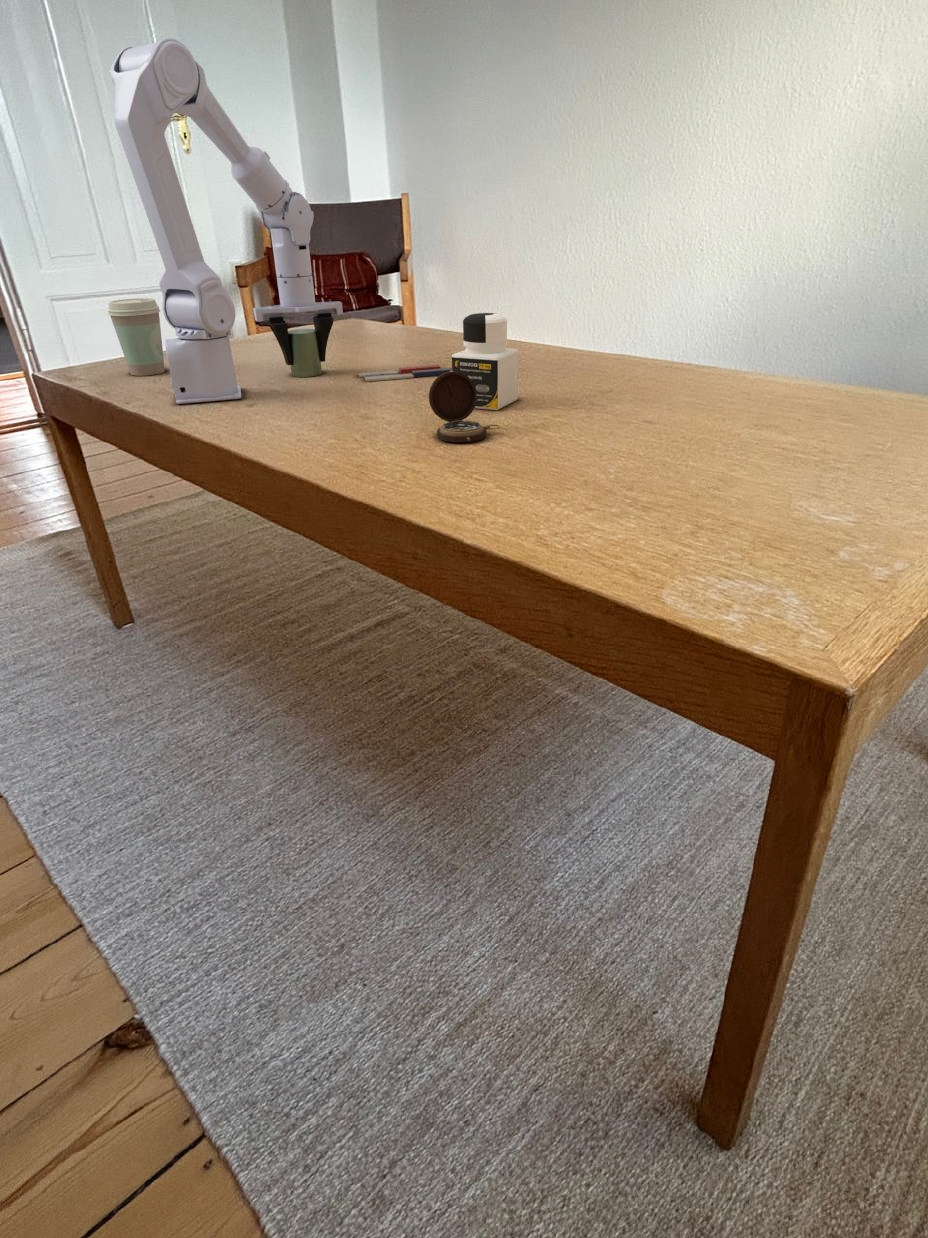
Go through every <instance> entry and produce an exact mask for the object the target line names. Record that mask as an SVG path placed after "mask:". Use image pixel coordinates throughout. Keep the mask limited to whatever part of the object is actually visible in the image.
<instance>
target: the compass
mask: <svg viewBox="0 0 928 1238" xmlns="http://www.w3.org/2000/svg"><path fill="white" fill-rule="evenodd" d="M476 393H477V390H476V387H475V385H474V383H473V382H472V380H471V379H470V378H469V377H468V376H466V375H465V374H463V373H460V372H455V371H453V370H450V371H449V372H445V373H443V374H441V375H438V376H436V378H435V379H434V380H433V381H432V383H431V385H430V387H429V391H428V403H429V405H430V408H431V410H432V412H433V413H434V414H435V416H437V417H438V418H439V419H441V420H443V421H445V423H443V424H442V425H440V427H438V428H437V429H436V436H437V438H438V439H440V440H442V441H443V442H449V443H460V444H461V443H472V442H477V441H480V440H482V439H484V438H485V437H486V436H487V430H498V429H500V428H501V426H500V425H499V424H487V425H483V424H481V423H480V422H478V421H474V420H465V419H467V418H468V417H470V415H471V414H472V413H473V412H474V410H475V409H476V408H475V406H476V402H477V396H476Z"/></svg>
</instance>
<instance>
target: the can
mask: <svg viewBox="0 0 928 1238" xmlns="http://www.w3.org/2000/svg"><path fill="white" fill-rule="evenodd" d="M288 339H289V347H290V353H291V358H292V365H290V372H291V376H292V377H294V378H295V377H296V378H309V377H316V376H320V375H322V374H323V369H322V362H321V359H320V351H319V342H318V333H317V330H315V328H299V329H291V330H288Z"/></svg>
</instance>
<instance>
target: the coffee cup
mask: <svg viewBox="0 0 928 1238" xmlns="http://www.w3.org/2000/svg"><path fill="white" fill-rule="evenodd" d="M107 312H108V313H107V316H109V317H110V319H111V322H112V325H113V328H114V331H115V334H116V337H117V339H118V342H119V345H120V348H121V351H122V355H123V357H124V359H125V362H126V365H127V368H128V370H129V373H130V375H132V376H137V377H144V376H155V375H159V374H162V373H164V372H165V371H166V370H165V369H166V368H165V359H164V349H163V339H162V329H161V328H162V327H161V320H160V313H161V310H160V307H159V305H158V304H157V301H156V300H155V298H148V297H146V298H144V297H143V298H142V297H141V298H139V297H138V298H126V299H123V298H122V299H117V300H111V301H109V302H108V309H107Z"/></svg>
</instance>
